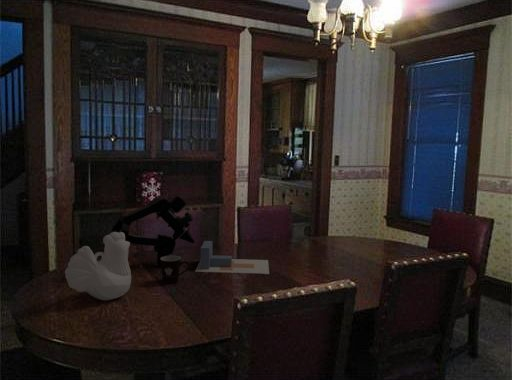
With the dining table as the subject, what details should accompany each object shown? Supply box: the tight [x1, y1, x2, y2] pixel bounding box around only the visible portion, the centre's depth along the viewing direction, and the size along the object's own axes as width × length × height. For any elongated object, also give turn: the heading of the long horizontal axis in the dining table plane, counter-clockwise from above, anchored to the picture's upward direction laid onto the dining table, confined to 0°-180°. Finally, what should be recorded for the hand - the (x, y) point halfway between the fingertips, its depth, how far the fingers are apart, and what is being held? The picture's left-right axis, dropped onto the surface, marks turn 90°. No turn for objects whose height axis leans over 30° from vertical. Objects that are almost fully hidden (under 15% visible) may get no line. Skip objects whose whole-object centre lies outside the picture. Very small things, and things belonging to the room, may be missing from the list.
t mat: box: [194, 258, 270, 275], centre depth 205 cm, size 34×22×1 cm, turn 90°
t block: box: [200, 240, 233, 269], centre depth 205 cm, size 14×14×10 cm
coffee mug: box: [160, 255, 190, 285], centre depth 180 cm, size 12×9×10 cm
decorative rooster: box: [64, 231, 132, 301], centre depth 159 cm, size 25×16×25 cm, turn 127°
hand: (194, 242), depth 204 cm, fingers closed
